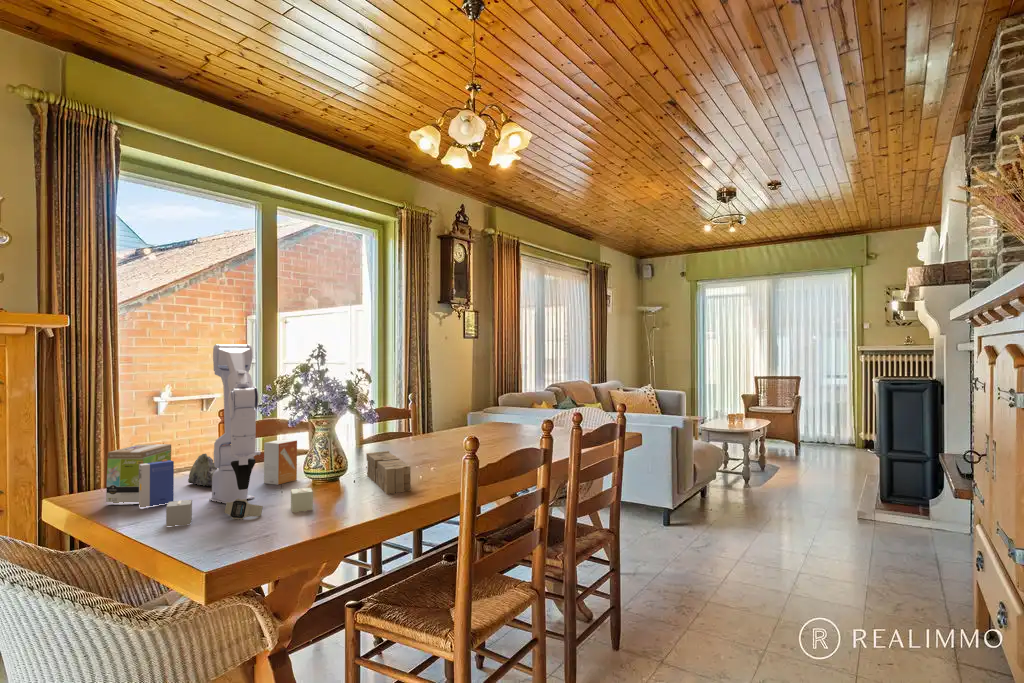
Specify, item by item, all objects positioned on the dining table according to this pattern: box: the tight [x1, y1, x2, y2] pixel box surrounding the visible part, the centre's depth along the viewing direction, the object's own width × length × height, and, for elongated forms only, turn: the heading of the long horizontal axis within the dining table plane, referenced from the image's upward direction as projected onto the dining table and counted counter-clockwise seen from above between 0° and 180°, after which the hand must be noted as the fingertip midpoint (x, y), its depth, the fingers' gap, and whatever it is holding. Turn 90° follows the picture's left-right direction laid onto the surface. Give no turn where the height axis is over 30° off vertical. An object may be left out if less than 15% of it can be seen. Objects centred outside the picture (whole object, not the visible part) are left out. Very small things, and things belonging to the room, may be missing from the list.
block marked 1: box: [165, 499, 193, 527], centre depth 139 cm, size 5×5×5 cm
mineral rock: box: [187, 453, 218, 487], centre depth 179 cm, size 13×11×10 cm
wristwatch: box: [224, 499, 263, 520], centre depth 145 cm, size 9×6×5 cm
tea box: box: [105, 443, 172, 503], centre depth 164 cm, size 15×10×15 cm
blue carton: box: [138, 459, 175, 507], centre depth 156 cm, size 8×3×12 cm, turn 139°
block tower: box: [365, 450, 412, 495], centre depth 182 cm, size 8×8×29 cm
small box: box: [263, 438, 298, 486], centre depth 185 cm, size 8×6×13 cm
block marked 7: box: [290, 487, 314, 513], centre depth 151 cm, size 5×5×5 cm
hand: (243, 489), depth 145 cm, fingers closed
